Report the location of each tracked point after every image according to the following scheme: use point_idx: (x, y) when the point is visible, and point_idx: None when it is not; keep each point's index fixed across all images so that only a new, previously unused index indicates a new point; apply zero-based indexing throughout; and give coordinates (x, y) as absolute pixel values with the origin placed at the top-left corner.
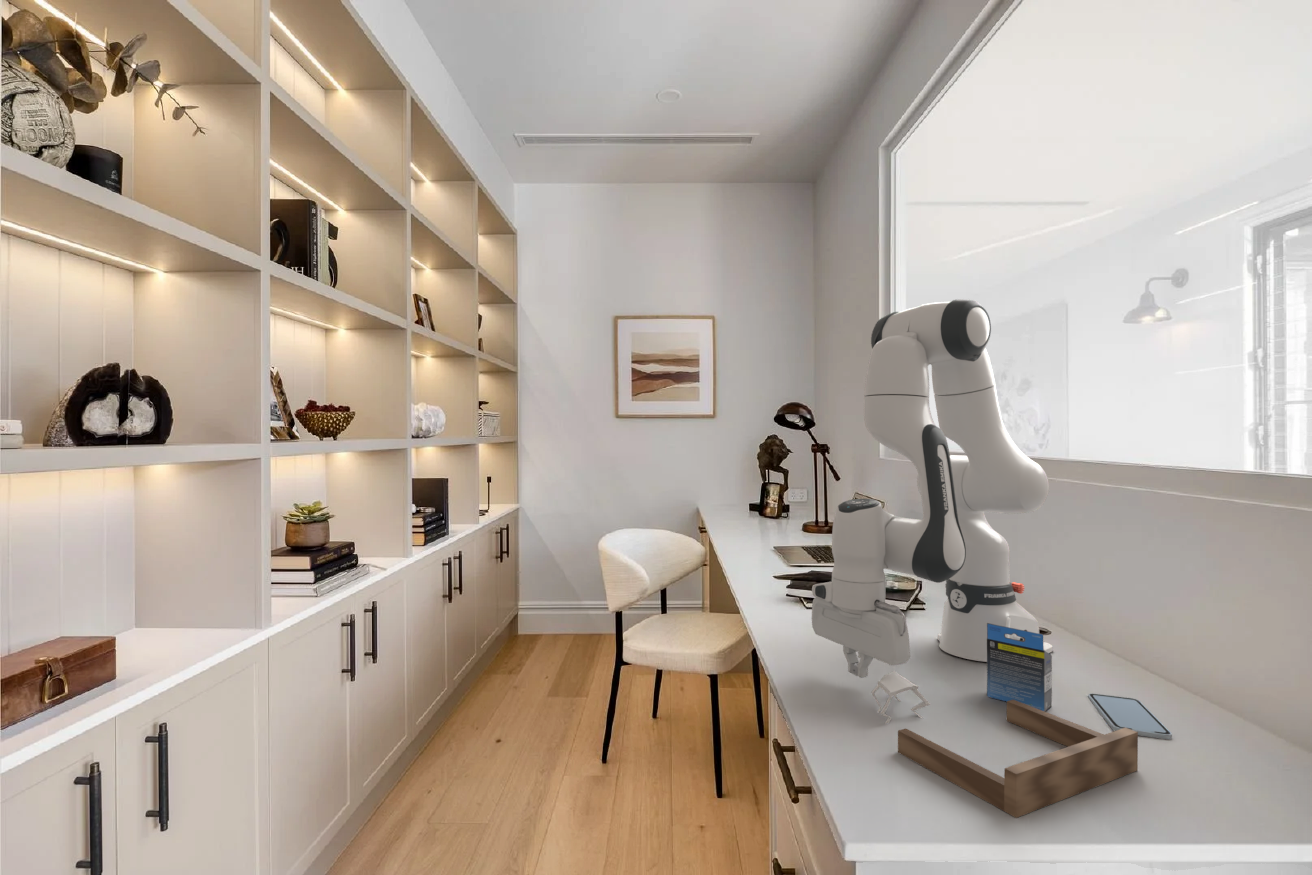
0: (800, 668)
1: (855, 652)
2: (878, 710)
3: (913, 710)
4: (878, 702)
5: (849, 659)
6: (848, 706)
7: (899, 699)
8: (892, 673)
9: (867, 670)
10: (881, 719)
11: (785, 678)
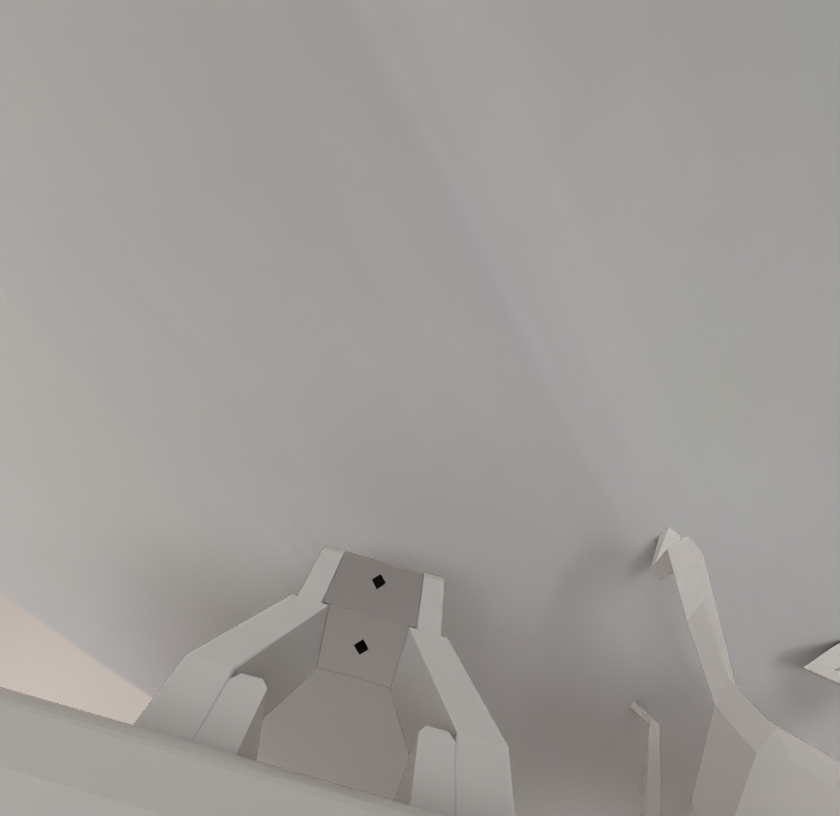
0: (31, 506)
1: (252, 663)
2: (639, 714)
3: (831, 681)
4: (659, 764)
5: (288, 694)
6: (502, 730)
7: (668, 535)
8: (773, 800)
9: (441, 607)
10: (682, 757)
11: (118, 650)
